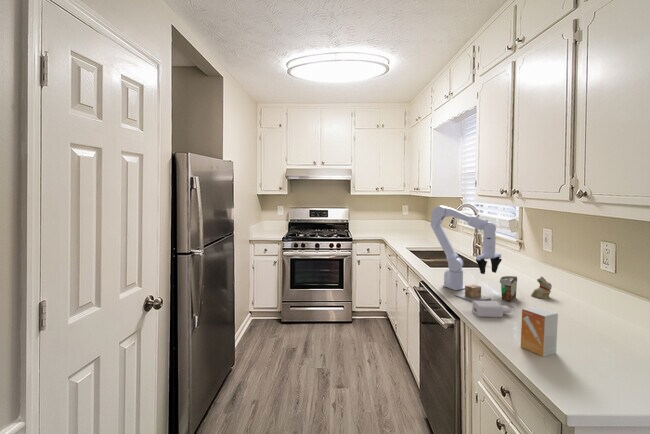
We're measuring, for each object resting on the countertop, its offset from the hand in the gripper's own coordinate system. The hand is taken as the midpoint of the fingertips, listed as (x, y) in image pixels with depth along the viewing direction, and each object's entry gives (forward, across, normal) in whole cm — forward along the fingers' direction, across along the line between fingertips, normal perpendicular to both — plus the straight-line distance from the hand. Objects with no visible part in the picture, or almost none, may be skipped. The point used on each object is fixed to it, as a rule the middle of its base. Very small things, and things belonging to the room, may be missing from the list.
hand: (488, 273), depth 187 cm
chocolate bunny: (+10, +16, -17) cm, 25 cm away
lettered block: (+9, -15, -5) cm, 18 cm away
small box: (+10, -39, -58) cm, 71 cm away
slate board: (+9, -15, -5) cm, 18 cm away
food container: (+10, -2, -13) cm, 16 cm away
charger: (+10, -24, -26) cm, 37 cm away
